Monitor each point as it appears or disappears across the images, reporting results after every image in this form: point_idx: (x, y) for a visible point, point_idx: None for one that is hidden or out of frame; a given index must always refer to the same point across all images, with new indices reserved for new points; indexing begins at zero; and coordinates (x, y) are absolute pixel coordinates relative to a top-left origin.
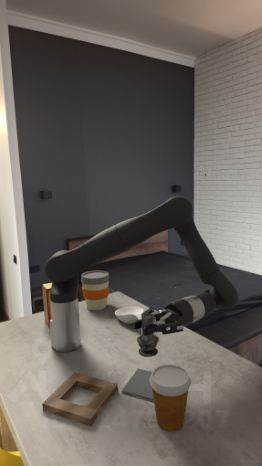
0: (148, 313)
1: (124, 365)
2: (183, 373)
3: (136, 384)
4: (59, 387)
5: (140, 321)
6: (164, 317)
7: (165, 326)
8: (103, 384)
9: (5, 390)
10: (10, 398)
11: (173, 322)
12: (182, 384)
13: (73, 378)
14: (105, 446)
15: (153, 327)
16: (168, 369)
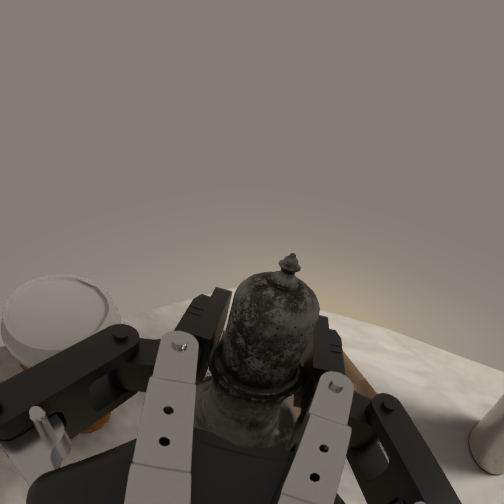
0: (272, 281)
1: None
2: (18, 329)
3: None
4: (345, 356)
5: (311, 341)
6: (169, 416)
7: (105, 333)
8: (293, 408)
9: (394, 332)
10: (372, 327)
11: (56, 387)
12: (20, 286)
13: (358, 384)
14: (168, 325)
15: (186, 322)
16: (68, 334)
